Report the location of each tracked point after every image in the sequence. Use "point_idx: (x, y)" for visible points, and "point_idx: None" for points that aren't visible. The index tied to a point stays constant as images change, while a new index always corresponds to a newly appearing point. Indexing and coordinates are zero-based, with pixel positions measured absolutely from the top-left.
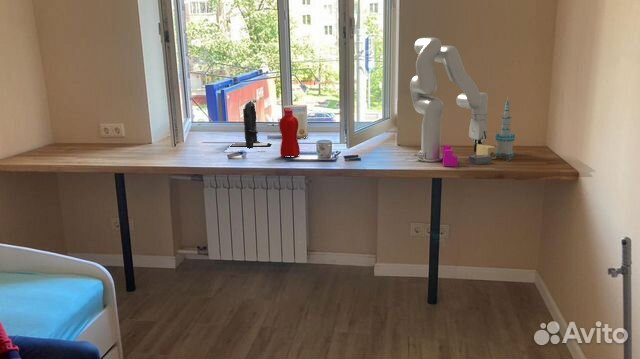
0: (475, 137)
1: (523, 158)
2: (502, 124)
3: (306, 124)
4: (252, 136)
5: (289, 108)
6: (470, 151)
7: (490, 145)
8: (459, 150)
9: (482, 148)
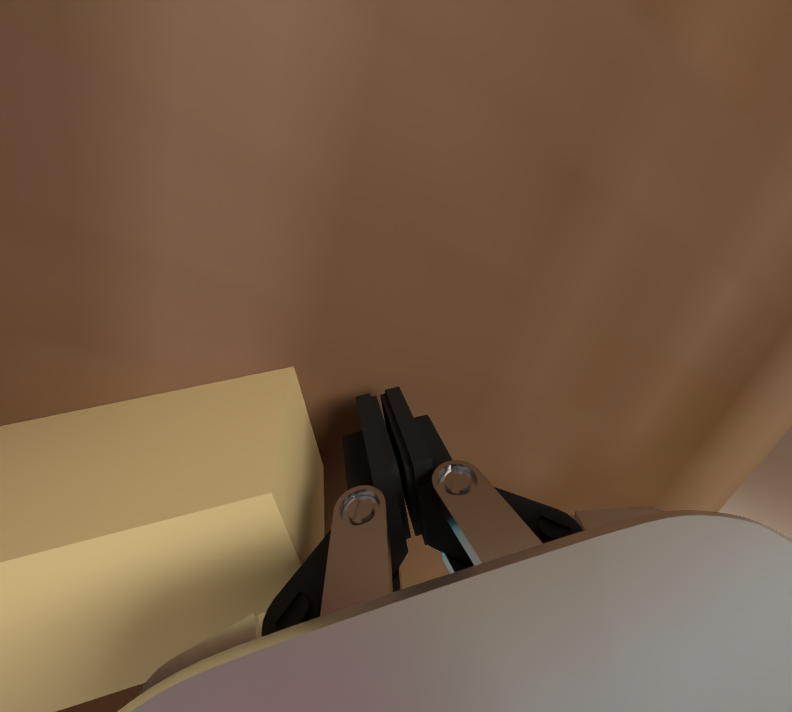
0: (312, 709)
1: (104, 708)
2: None
3: None
4: None
5: None
6: (541, 381)
7: (104, 686)
8: (644, 280)
9: (23, 514)
